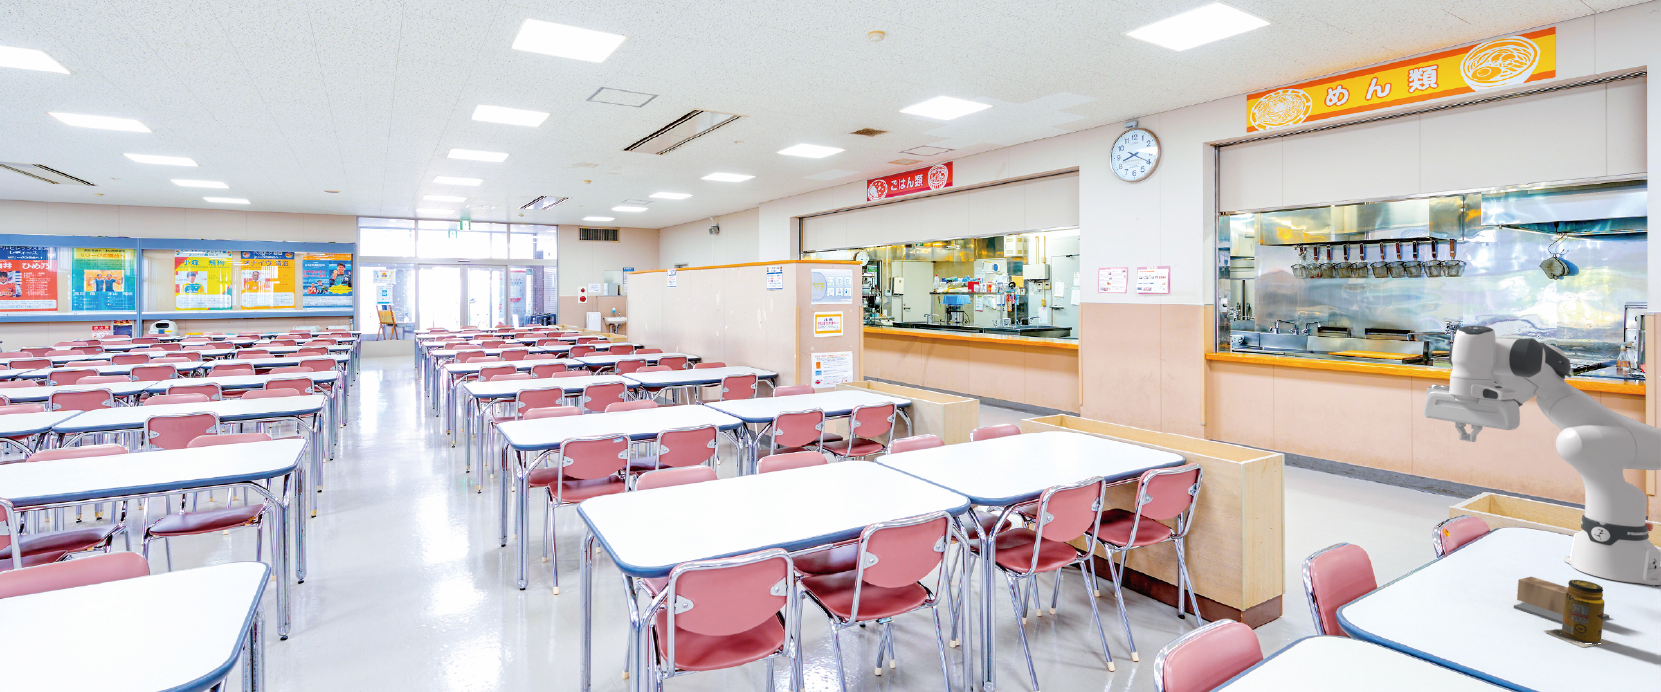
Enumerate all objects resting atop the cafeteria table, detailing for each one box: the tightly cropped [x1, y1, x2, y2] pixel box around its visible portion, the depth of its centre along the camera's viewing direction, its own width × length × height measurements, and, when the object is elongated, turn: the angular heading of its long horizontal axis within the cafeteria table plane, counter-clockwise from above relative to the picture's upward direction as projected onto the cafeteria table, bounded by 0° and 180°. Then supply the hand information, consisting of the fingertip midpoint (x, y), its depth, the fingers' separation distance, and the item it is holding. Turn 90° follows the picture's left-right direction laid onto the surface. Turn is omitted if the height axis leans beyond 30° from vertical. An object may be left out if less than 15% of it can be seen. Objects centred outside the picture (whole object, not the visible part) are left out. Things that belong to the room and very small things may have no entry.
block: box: [1516, 576, 1569, 615], centre depth 175 cm, size 5×5×13 cm
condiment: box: [1543, 579, 1613, 648], centre depth 162 cm, size 7×8×12 cm
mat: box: [1513, 602, 1610, 625], centre depth 174 cm, size 14×11×1 cm
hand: (1467, 440), depth 197 cm, fingers closed
